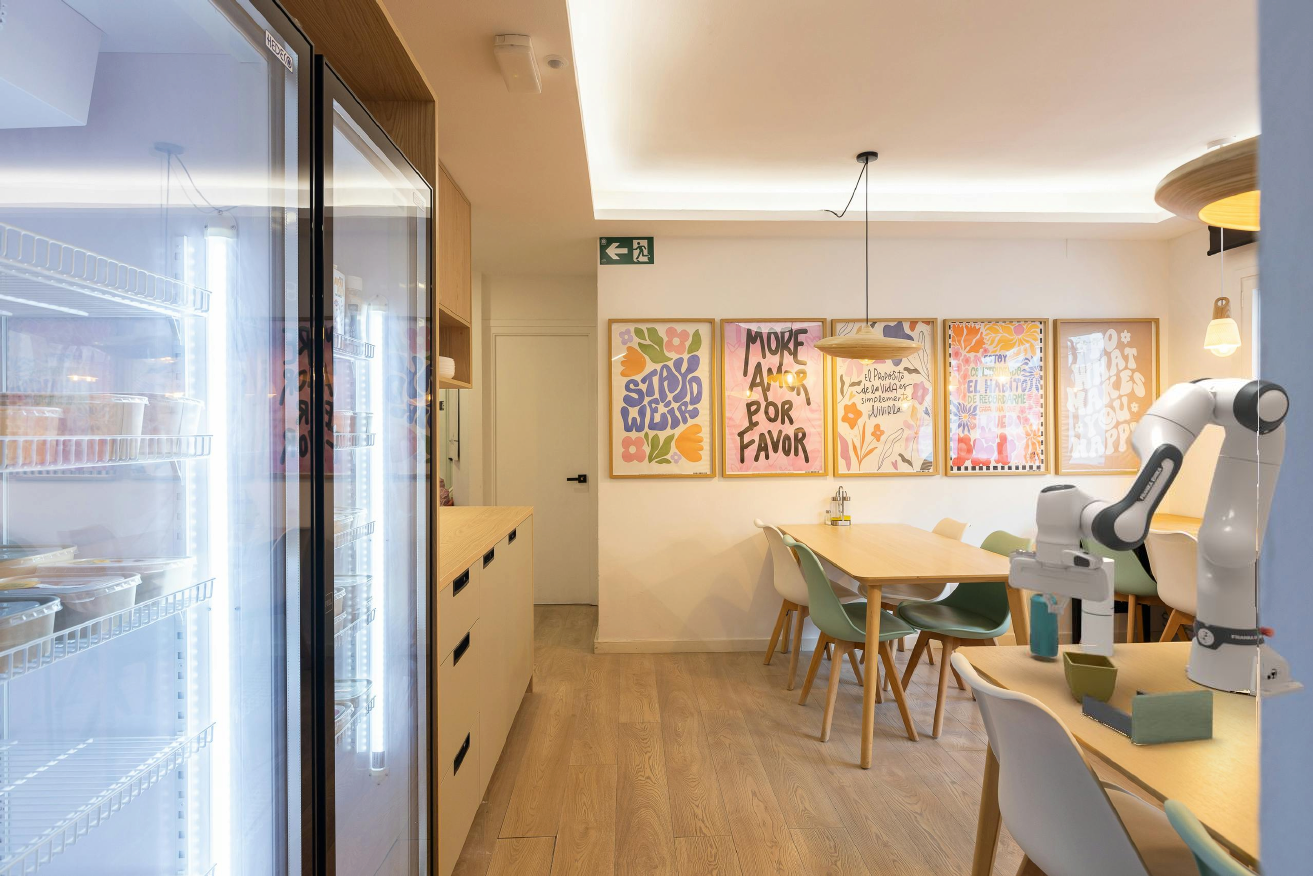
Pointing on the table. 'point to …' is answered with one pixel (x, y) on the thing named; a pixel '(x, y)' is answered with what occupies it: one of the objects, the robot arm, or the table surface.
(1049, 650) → the beverage bottle
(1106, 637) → the cylindrical container
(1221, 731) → the table surface
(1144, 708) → the bracket
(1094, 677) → the flower pot
